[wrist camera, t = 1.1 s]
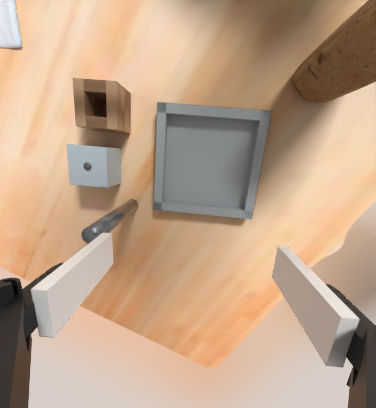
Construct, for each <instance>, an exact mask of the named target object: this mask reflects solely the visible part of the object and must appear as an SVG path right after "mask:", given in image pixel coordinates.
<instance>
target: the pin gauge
mask: <svg viewBox="0 0 376 408" xmlns="http://www.w3.org/2000/svg"><path fill="white" fill-rule="evenodd" d="M137 208H138V203H137V201H135V200H133V199H131V200H129V201H127V202H126V203H124V204H123V205H121V206H120V207H118V208H116V209H115V210H113V211H112V212H110V213H109V214H107V215H106V216H104V217H102V218H101V219H99V220H98V221H96V222H95V223H93V224H92V225H90V226H89V227H87V228H85V229H84V230H83V231H82V238H83V240H84V241H85V242H86V243H88V244H89V243H90V242H91V241H93V240H94V239H95V238H97V237H98V236H99V235H100V234H102V233H109V232H110V231H111V230H112V229H113V228H115V227H116V226H117V225H118V224H119V223H121V222H122V221H123V220H124V219H125V218H126V217H128V216H129V215H130V214H131V213H132V212H133V211H135V210H136V209H137Z"/></svg>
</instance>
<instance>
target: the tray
mask: <svg viewBox="0 0 376 408" xmlns="http://www.w3.org/2000/svg"><path fill="white" fill-rule="evenodd" d="M270 117H271V111H266V110H253V109H240V108H227V107H214V106H201V105H187V104H174V103H161V102H157V130H156V157H155V184H154V210H162V211H172V212H182V213H192V214H202V215H212V216H222V217H232V218H242V219H252V215H253V209H254V204H255V198H256V193H257V187H258V182H259V177H260V171H261V166H262V160H263V155H264V149H265V144H266V138H267V133H268V128H269V122H270Z"/></svg>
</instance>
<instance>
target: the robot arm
mask: <svg viewBox="0 0 376 408" xmlns="http://www.w3.org/2000/svg"><path fill="white" fill-rule="evenodd" d="M113 264H114V261H113V241H112V233H102V234H100V235H99V236H98V237H97V238H95V239H94V240H93V241H91V242H90V243H89V244H88V245H86V246H85V247H84V248H83V249H81V250H80V251H79V252H77V253H76V254H75V255H74V256H72V257H71V258H70V259H69V260H67V261H66V262H65V263H60V264H57V265H55V266H53V267H52V268H50V269H49V270H47V271H46V272H45V273H43V274H42V275H41V276H39V278H37V279H35V280H34V281H33V282H31V283H30V284H29V285H28V286H26V287H25V288H23V289H22V287H21V282H20V279H17V278H7V279H2V280H0V408H28V399H29V380H30V363H31V345H32V338H31V333H32V332H33V331H34V330H35V329H36V328H37V327H38V332H39V336H41V337H51V338H54V337H55V336H56V335H57V334H58V332H59V331H60V330H61V329H62V327H63V326H64V325H65V324H66V322H67V321H68V320H69V319H70V317H71V316H72V315H73V314H74V312H75V311H76V310H77V309H78V307H79V306H80V305H81V304H82V302H83V301H84V300H85V299H86V297H87V296H88V295H89V294H90V293H91V291H92V290H93V289H94V288H95V286H96V285H97V284H98V283H99V281H100V280H101V279H102V278H103V276H104V275H105V274H106V273H107V271H108V270H109V269H110V268H111V266H112V265H113ZM272 278H273V279H274V281H275V283H276V284H277V286H278V287H279V289H280V291H281V292H282V294H283V296H284V297H285V299H286V301H287V302H288V304H289V305H290V307H291V309H292V311H293V312H294V313H295V316H296V317H297V319H298V320H299V322H300V324H301V325H302V327H303V329H304V330H305V332H306V334H307V335H308V337H309V339H310V340H311V342H312V344H313V345H314V347H315V348H316V350H317V352H318V353H319V355H320V357H321V358H322V360H323V362H324V363H325V365H326V366H335V367H343V366H344V363H345V360H346V357H347V358H348V360H349V361H350V362H351V364H352V365H353V368H352V371H351V373H350V376H349V379H348V382H347V385H348V386H349V387H350V389H349V402H348V408H376V325H374V324H373V323H372V322H371V321H370V320H369V319H368V318H367V317H366V316H365V315H364V314H363V313H362V312H360V311H359V310H358V309H357V308H356V307H355V306H354V305H352V303H351V302H350V301H349V300H348V299H346V297H345V296H344V295H343V294H342V293H341V292H340V291H339V290H337V289H335V288H334V287H332V286H331V285H328V284H324V283H323V281H322V280H321V279H320V278H319V277H318V276H317V275H316V274H315V273H314V272H313V271H312V270H311V269H310V268H309V267H308V266H307V265H306V264H305V263H304V262H303V261H302V260H301V259H300V258H299V257H298V256H297V255H296V254H295V253H294V252H293V251H292V250H291V249H290V248H289V247H286V246H278V249H277V254H276V259H275V264H274V269H273V275H272Z"/></svg>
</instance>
